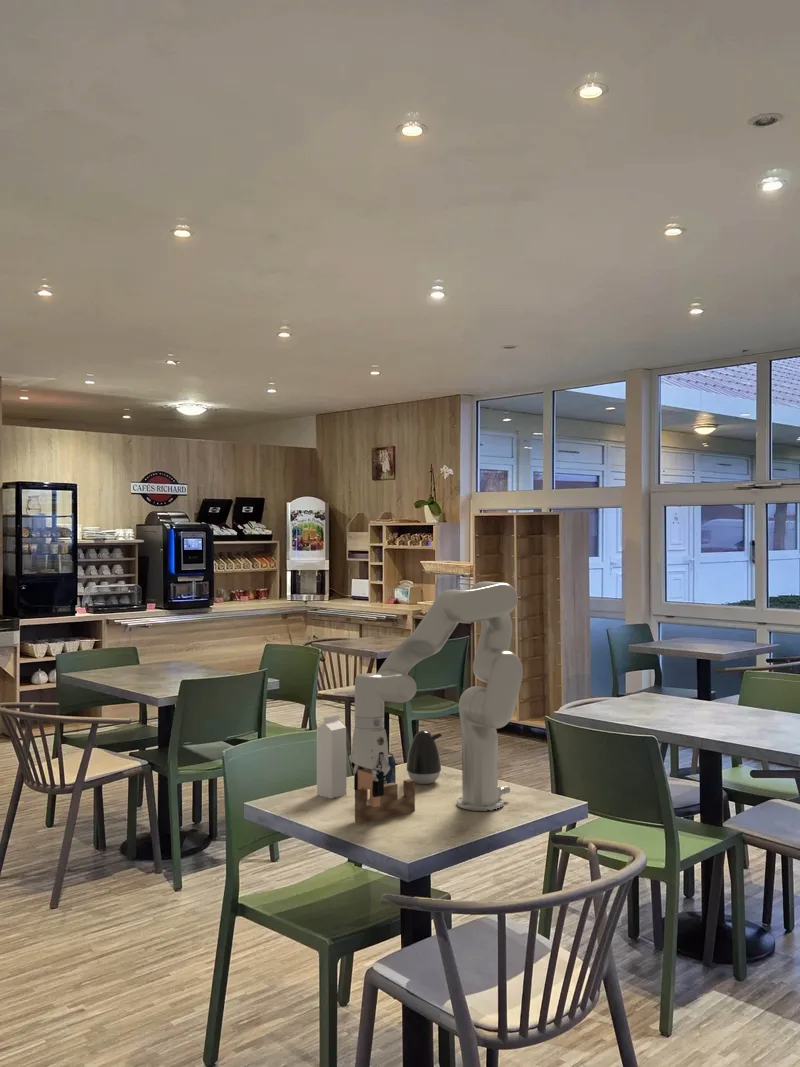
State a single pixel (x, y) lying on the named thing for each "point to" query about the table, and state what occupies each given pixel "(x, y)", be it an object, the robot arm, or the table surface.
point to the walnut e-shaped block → (385, 802)
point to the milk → (331, 758)
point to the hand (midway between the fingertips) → (368, 792)
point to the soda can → (391, 774)
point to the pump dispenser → (424, 758)
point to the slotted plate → (367, 785)
